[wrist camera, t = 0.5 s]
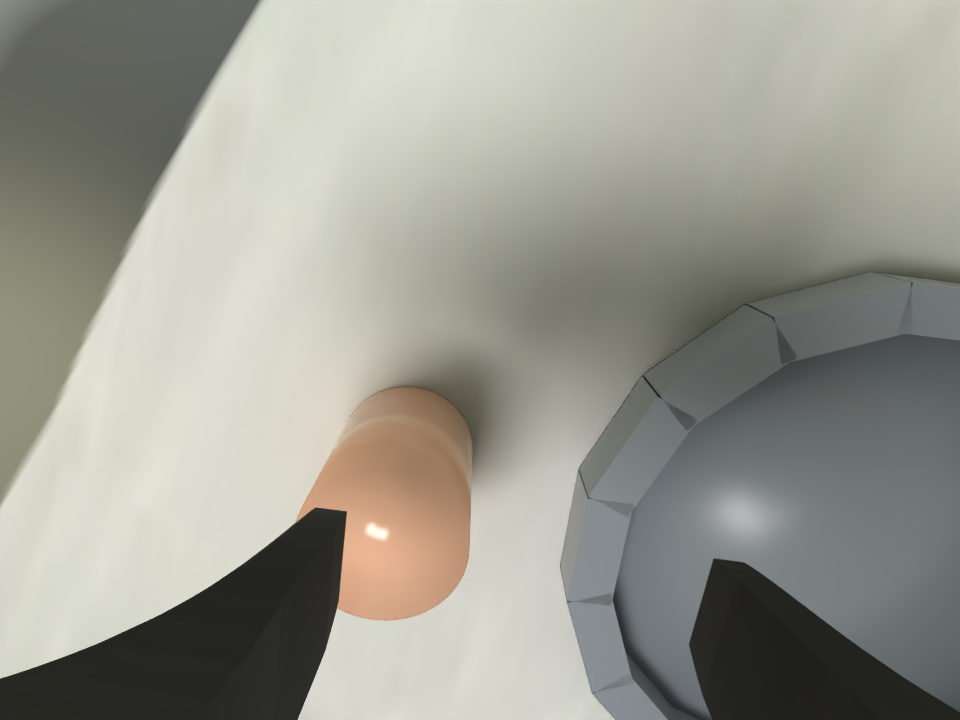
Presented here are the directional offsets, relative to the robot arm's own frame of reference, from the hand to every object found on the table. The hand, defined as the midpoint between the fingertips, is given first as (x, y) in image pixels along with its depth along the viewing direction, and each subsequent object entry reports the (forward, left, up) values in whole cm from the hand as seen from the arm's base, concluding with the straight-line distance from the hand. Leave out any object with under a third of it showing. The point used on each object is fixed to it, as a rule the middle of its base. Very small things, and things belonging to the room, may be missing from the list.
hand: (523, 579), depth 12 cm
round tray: (-4, -13, -10) cm, 16 cm away
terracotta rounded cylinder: (-2, +3, -10) cm, 10 cm away
